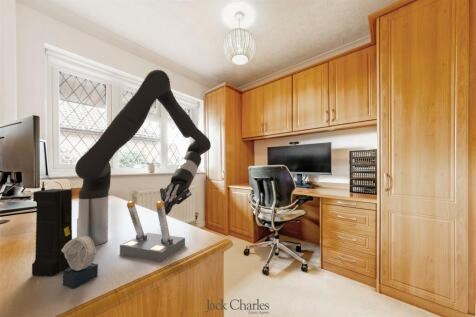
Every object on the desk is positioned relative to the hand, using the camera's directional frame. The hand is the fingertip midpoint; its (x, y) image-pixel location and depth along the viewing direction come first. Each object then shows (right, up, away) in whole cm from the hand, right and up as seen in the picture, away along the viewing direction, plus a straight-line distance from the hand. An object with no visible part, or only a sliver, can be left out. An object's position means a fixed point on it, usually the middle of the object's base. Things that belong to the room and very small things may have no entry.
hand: (163, 213), depth 63 cm
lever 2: (+1, -10, +1) cm, 10 cm away
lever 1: (-10, -10, +5) cm, 15 cm away
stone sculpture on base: (-16, -13, -14) cm, 25 cm away
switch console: (-5, -14, +3) cm, 14 cm away
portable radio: (-27, -14, -9) cm, 32 cm away
